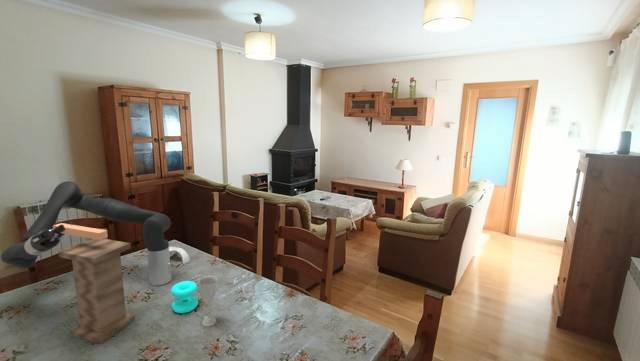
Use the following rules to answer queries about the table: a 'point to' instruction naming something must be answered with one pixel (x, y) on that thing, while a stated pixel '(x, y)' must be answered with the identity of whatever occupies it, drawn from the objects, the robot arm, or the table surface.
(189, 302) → the cyan spool
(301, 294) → the table surface
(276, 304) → the table surface
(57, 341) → the table surface
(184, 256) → the white arch
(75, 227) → the bar
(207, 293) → the chalice
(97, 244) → the stand
